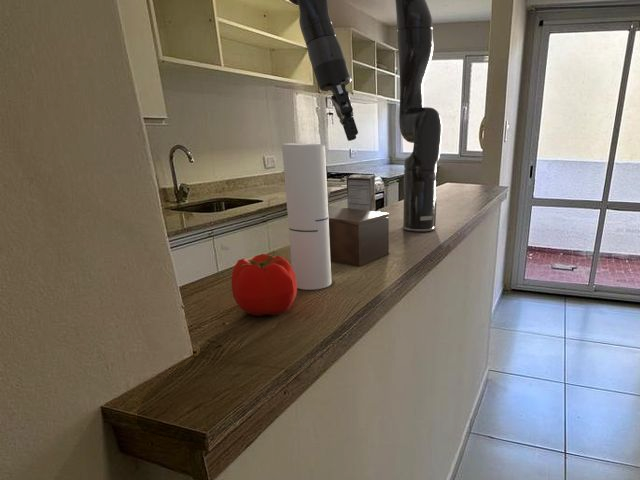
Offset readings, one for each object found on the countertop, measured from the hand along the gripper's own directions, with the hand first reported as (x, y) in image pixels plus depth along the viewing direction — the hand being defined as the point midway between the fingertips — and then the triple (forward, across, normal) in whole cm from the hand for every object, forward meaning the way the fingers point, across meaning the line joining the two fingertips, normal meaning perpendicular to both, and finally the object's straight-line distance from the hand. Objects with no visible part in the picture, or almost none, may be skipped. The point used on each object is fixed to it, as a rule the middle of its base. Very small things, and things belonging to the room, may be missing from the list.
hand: (353, 137), depth 105 cm
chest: (+25, -7, +11) cm, 28 cm away
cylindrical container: (+25, -27, +18) cm, 41 cm away
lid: (+16, -8, +8) cm, 20 cm away
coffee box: (+24, +11, +5) cm, 27 cm away
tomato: (+25, -40, +26) cm, 54 cm away
